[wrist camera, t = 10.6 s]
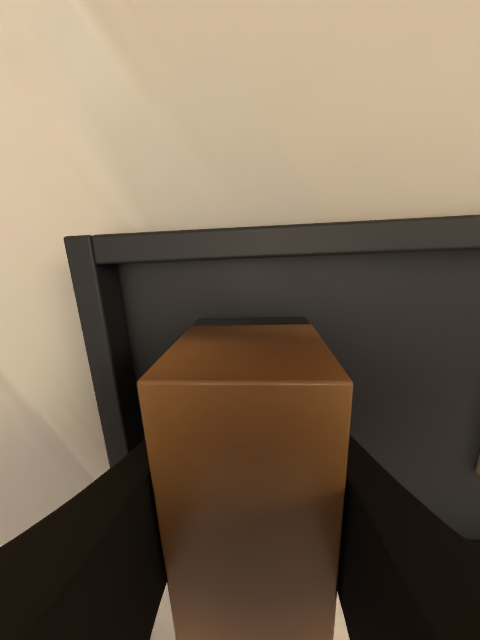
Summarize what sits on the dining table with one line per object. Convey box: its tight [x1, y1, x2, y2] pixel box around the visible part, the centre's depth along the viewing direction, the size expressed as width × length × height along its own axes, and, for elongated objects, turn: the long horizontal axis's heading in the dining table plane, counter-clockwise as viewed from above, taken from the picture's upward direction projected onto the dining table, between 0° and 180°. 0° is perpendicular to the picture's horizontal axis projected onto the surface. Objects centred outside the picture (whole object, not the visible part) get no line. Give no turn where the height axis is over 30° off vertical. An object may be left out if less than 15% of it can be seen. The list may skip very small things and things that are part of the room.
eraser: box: [137, 317, 353, 640], centre depth 7 cm, size 4×7×4 cm, turn 2°
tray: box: [64, 215, 480, 550], centre depth 9 cm, size 19×13×2 cm
